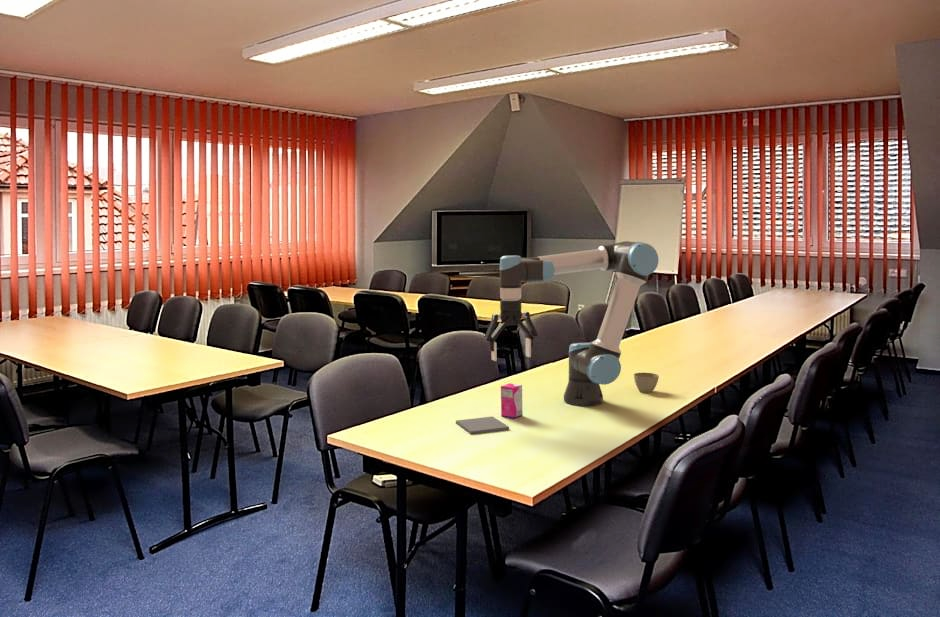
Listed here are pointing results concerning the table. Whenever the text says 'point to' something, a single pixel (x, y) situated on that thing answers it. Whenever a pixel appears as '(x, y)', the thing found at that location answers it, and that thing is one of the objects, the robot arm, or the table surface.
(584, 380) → the robot arm
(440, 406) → the table surface
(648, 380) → the flower pot
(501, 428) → the gray mat
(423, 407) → the table surface
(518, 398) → the supplement box
